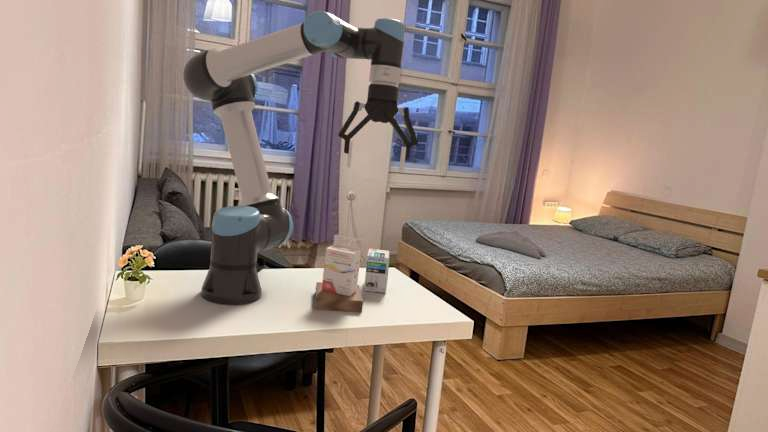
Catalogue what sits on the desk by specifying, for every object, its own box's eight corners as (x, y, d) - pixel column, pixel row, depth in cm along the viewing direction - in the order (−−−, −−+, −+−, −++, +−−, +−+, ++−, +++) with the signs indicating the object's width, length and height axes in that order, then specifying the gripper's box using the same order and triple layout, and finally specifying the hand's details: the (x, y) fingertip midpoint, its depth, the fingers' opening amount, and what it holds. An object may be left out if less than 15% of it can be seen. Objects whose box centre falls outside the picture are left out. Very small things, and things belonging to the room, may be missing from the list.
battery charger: (251, 281, 153) (251, 268, 152) (219, 277, 153) (219, 264, 153) (264, 270, 165) (265, 258, 165) (234, 266, 166) (235, 254, 165)
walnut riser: (315, 309, 134) (316, 298, 134) (315, 292, 148) (316, 282, 147) (361, 312, 136) (363, 301, 135) (357, 295, 149) (358, 285, 149)
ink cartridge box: (320, 290, 140) (325, 236, 138) (328, 285, 145) (333, 233, 143) (350, 296, 138) (355, 242, 135) (357, 291, 142) (362, 239, 140)
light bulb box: (386, 293, 154) (389, 258, 152) (363, 291, 154) (366, 255, 152) (386, 283, 164) (390, 250, 163) (365, 281, 164) (368, 247, 163)
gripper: (334, 77, 125) (326, 165, 129) (435, 89, 129) (425, 175, 132) (333, 80, 133) (325, 163, 136) (429, 91, 136) (419, 173, 139)
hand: (375, 169), depth 134 cm, fingers open, 13 cm apart
